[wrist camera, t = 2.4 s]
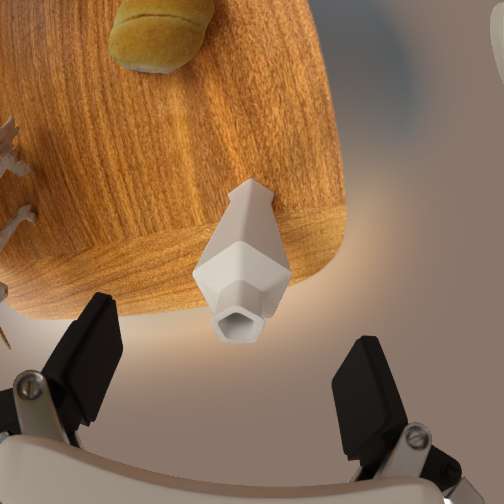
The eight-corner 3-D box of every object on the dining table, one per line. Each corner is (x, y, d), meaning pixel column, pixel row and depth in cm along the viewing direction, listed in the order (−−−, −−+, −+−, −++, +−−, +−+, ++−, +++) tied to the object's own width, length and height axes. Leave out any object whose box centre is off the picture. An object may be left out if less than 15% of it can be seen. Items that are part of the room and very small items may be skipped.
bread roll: (226, -12, 15) (220, -31, 11) (194, 79, 19) (181, 74, 16) (136, -16, 14) (118, -31, 10) (107, 69, 18) (83, 66, 15)
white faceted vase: (285, 216, 25) (308, 350, 12) (238, 230, 25) (215, 368, 12) (269, 167, 23) (280, 264, 9) (219, 184, 23) (166, 294, 10)
